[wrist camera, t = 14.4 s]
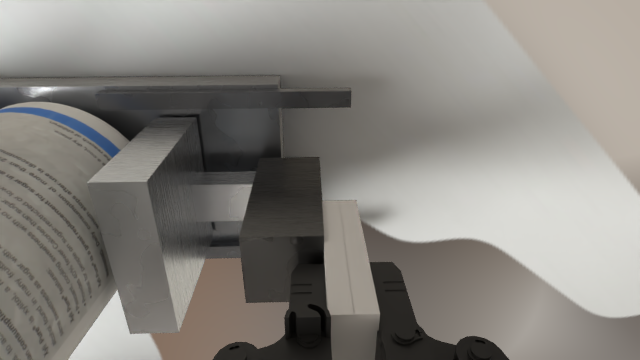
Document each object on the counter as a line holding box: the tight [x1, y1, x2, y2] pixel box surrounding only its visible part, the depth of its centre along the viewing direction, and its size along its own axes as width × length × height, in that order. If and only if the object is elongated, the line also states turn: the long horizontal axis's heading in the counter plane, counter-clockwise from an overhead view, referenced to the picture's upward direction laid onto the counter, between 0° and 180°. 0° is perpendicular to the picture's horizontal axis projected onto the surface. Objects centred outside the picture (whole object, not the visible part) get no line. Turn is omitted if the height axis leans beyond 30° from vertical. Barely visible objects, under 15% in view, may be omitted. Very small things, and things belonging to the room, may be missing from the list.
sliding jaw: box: [87, 117, 324, 334], centre depth 19 cm, size 7×8×8 cm
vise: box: [0, 75, 351, 258], centre depth 20 cm, size 10×24×9 cm, turn 90°
